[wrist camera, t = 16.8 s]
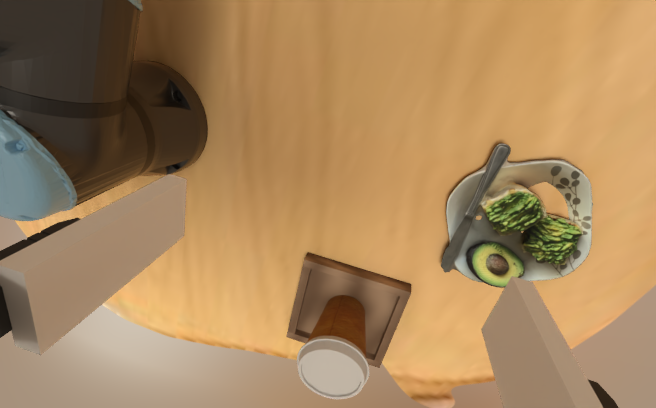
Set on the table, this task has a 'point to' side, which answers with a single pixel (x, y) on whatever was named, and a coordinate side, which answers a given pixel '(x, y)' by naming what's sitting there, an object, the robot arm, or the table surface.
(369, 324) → the walnut tray
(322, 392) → the disposable coffee cup
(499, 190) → the salad plate
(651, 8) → the table surface
